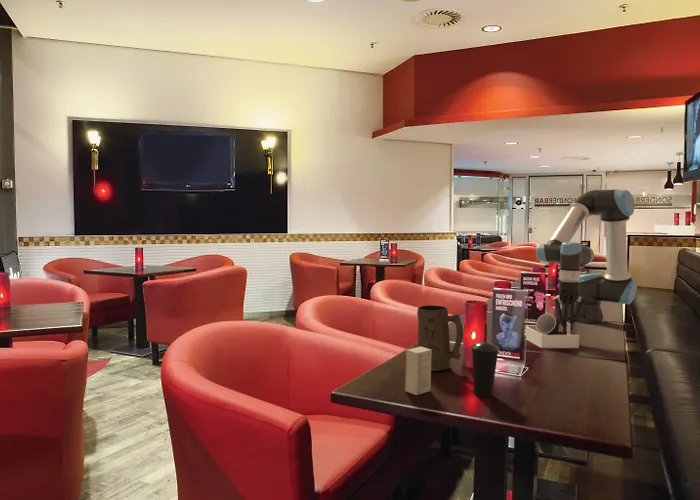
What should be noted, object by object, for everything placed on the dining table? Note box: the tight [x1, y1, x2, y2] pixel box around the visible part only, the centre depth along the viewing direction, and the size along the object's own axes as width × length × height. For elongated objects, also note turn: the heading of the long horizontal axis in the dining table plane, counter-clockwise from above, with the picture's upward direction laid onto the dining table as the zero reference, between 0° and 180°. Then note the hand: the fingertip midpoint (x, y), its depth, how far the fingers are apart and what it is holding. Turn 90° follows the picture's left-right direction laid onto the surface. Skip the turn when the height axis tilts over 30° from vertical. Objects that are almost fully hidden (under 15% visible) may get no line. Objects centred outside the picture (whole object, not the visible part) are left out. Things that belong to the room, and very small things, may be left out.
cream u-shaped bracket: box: [525, 324, 580, 349], centre depth 208 cm, size 15×18×5 cm
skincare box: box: [404, 346, 432, 396], centre depth 146 cm, size 6×4×12 cm
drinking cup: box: [470, 323, 500, 398], centre depth 145 cm, size 8×8×20 cm
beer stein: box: [416, 304, 464, 372], centre depth 169 cm, size 15×11×20 cm
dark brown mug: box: [535, 312, 567, 335], centre depth 205 cm, size 12×9×10 cm
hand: (566, 338), depth 209 cm, fingers closed
